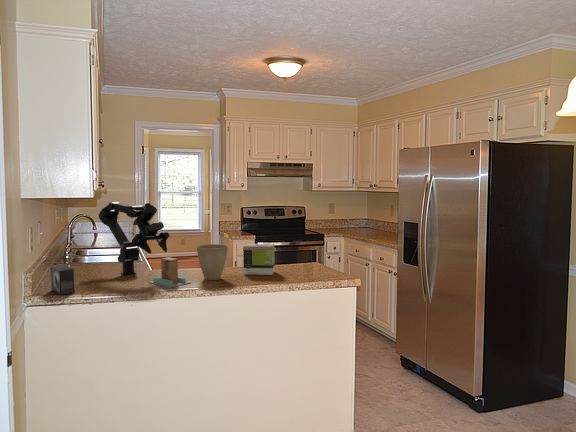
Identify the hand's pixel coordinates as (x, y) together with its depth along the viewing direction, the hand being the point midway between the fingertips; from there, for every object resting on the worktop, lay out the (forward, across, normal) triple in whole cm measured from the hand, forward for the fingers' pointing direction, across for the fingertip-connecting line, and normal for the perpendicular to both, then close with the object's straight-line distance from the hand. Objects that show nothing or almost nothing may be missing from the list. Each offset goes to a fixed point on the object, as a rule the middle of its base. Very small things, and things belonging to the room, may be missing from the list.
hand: (158, 252), depth 230 cm
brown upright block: (+15, 0, +3) cm, 15 cm away
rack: (+15, 0, +4) cm, 16 cm away
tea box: (+27, +43, -11) cm, 52 cm away
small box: (+1, -38, +22) cm, 44 cm away
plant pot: (+21, +19, -4) cm, 29 cm away
